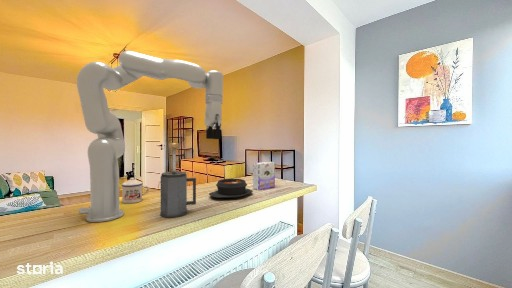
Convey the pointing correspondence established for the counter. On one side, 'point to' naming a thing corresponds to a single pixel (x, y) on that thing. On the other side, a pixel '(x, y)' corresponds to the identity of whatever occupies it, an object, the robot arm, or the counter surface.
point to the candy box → (263, 175)
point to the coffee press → (175, 194)
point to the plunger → (174, 155)
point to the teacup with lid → (132, 191)
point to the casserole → (231, 189)
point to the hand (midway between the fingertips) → (213, 138)
